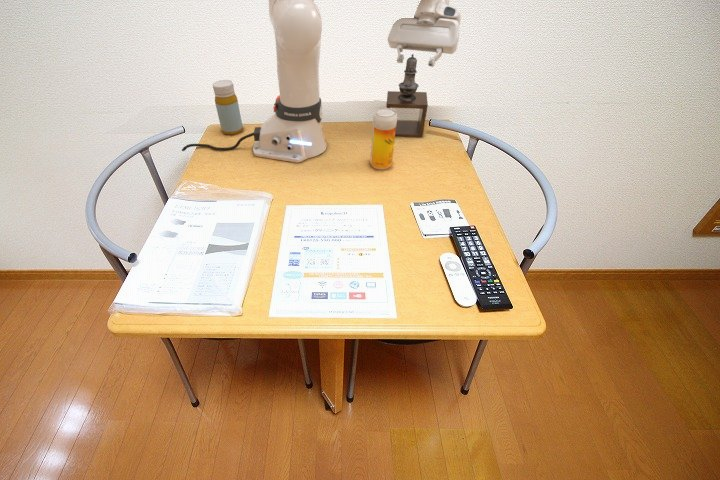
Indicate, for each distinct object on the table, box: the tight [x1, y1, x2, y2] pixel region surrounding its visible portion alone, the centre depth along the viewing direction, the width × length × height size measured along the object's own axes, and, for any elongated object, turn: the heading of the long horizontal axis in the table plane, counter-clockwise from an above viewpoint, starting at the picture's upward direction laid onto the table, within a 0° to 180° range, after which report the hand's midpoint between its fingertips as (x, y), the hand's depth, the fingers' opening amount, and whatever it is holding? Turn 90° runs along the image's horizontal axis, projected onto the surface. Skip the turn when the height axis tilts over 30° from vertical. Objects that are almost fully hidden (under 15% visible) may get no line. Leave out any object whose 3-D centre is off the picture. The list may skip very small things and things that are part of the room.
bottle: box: [212, 79, 244, 136], centre depth 116 cm, size 7×7×15 cm
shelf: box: [385, 90, 429, 138], centre depth 114 cm, size 12×10×10 cm
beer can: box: [369, 107, 398, 171], centre depth 98 cm, size 6×6×15 cm
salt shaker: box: [398, 53, 420, 101], centre depth 106 cm, size 6×6×12 cm
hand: (414, 63), depth 107 cm, fingers open, 8 cm apart
